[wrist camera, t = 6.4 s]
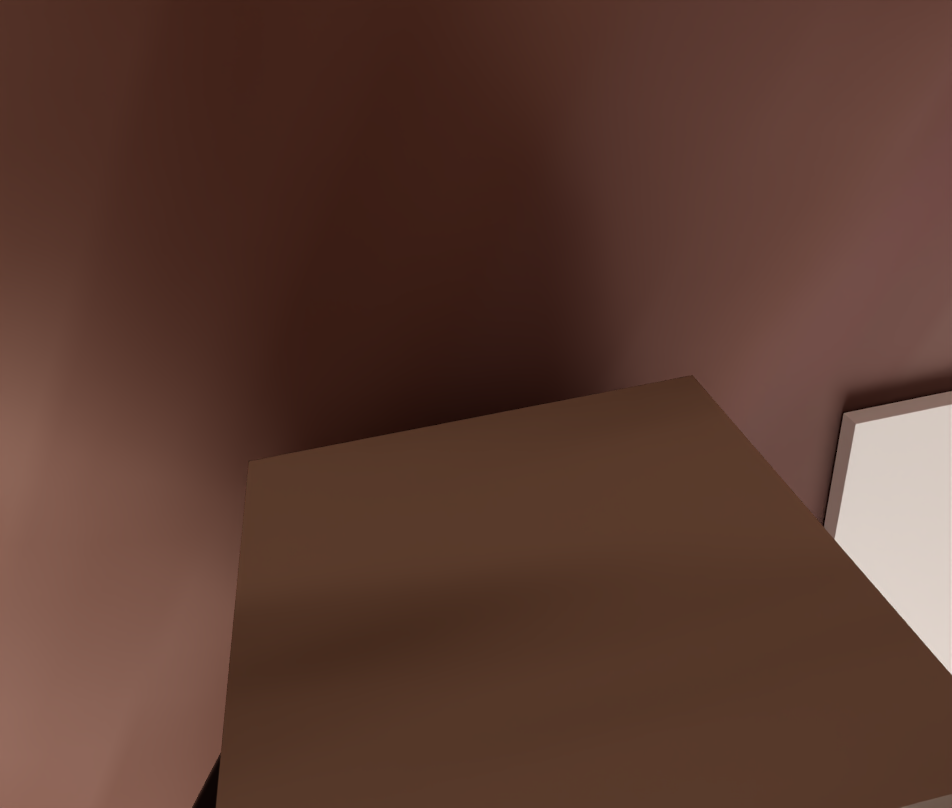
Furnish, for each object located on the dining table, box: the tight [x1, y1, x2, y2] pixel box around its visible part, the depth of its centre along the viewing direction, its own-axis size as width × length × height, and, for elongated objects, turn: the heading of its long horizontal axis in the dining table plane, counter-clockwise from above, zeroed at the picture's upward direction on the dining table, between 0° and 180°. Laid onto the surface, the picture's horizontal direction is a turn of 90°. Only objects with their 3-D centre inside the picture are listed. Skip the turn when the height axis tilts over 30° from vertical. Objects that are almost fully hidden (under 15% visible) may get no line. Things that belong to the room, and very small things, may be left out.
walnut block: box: [216, 375, 952, 808], centre depth 8 cm, size 5×5×5 cm
